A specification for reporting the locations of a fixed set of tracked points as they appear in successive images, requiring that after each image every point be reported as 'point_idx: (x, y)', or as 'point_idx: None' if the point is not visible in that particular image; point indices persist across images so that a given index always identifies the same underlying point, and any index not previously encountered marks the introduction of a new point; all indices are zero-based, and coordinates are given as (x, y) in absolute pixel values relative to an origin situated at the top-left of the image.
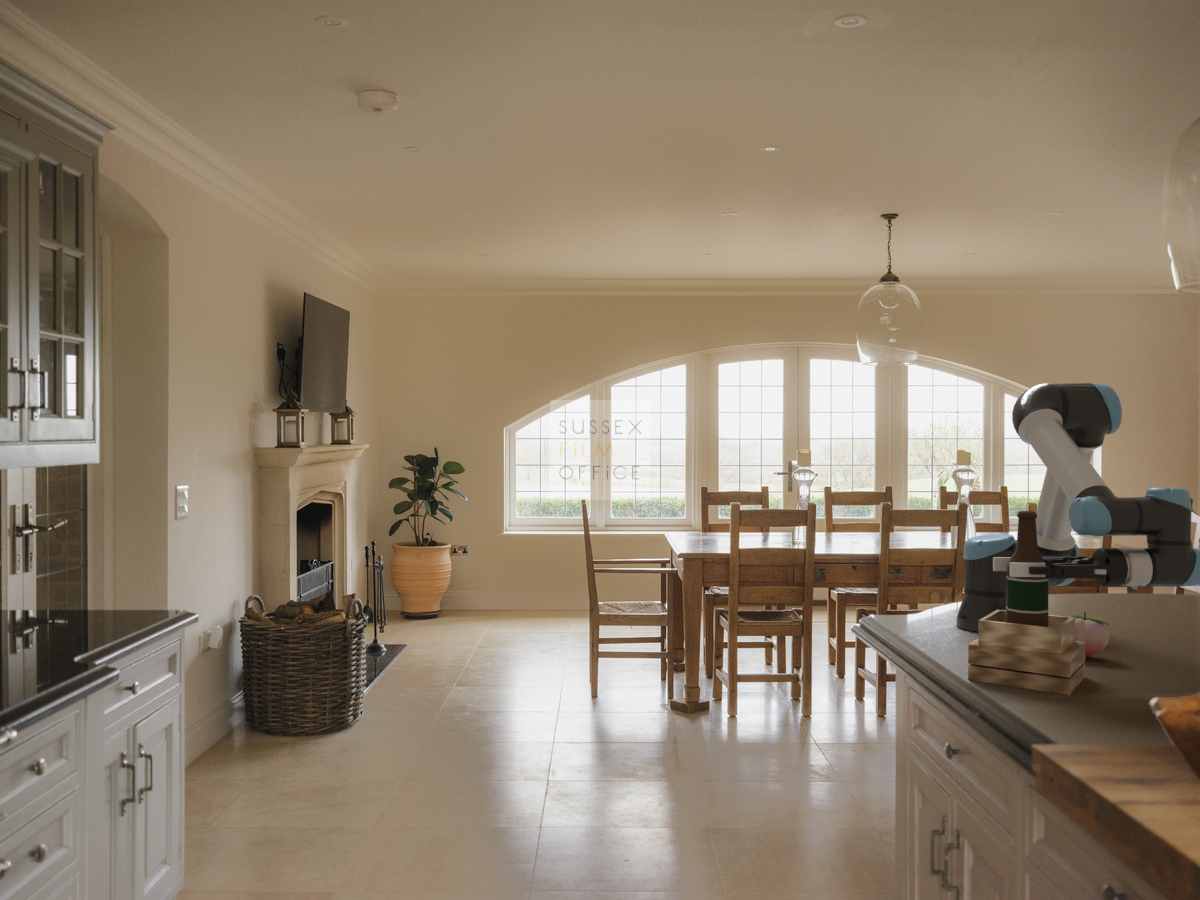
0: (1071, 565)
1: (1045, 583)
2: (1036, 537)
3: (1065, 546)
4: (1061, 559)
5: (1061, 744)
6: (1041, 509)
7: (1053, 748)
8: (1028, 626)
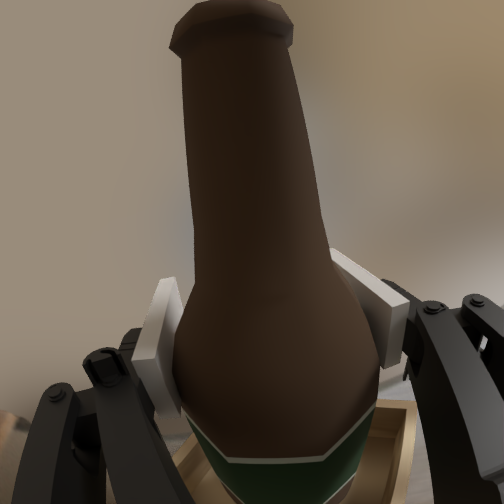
0: (32, 461)
1: (215, 452)
2: (213, 173)
3: None
4: (481, 476)
5: (10, 430)
6: None
7: (8, 421)
8: (174, 455)
